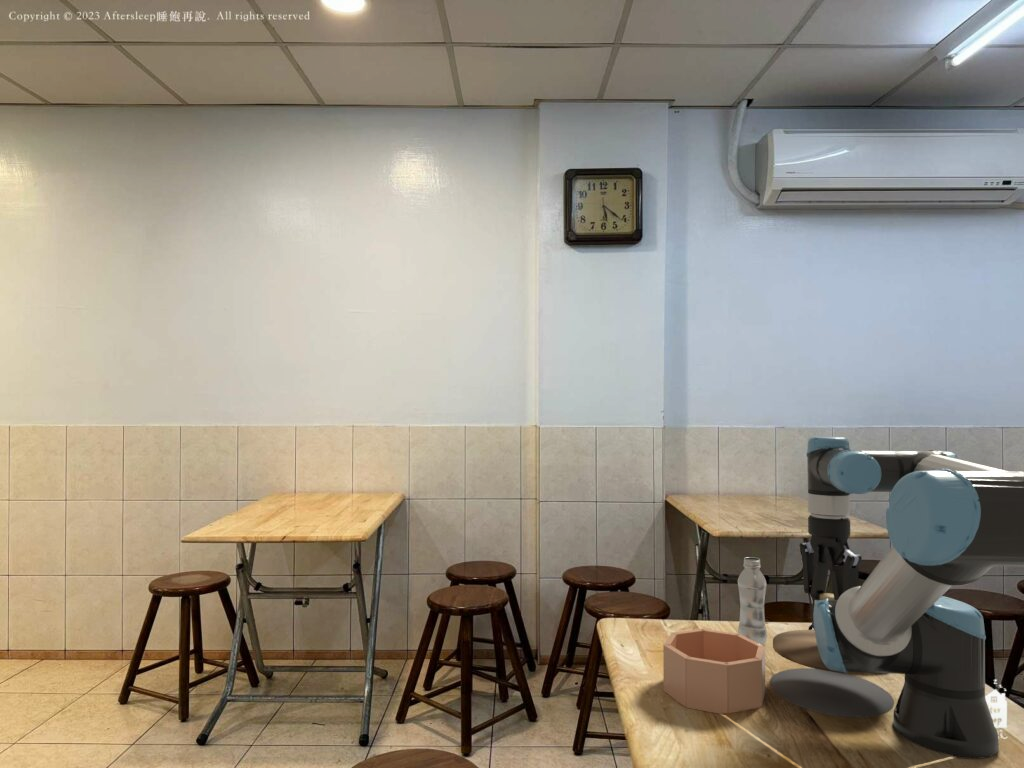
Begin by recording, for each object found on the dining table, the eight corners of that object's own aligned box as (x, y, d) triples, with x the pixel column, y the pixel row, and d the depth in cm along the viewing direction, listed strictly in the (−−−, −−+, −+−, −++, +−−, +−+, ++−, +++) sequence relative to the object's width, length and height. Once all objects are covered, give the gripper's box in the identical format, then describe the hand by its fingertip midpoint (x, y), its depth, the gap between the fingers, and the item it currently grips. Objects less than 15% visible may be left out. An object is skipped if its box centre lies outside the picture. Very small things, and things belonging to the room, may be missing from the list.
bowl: (784, 704, 129) (784, 656, 129) (703, 720, 122) (703, 669, 123) (723, 668, 146) (723, 625, 146) (648, 680, 139) (648, 635, 140)
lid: (918, 665, 127) (917, 605, 128) (830, 680, 120) (829, 616, 120) (830, 630, 147) (829, 578, 147) (750, 641, 140) (749, 586, 140)
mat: (922, 708, 127) (921, 705, 127) (829, 727, 120) (829, 725, 120) (829, 664, 148) (829, 662, 148) (745, 678, 140) (745, 676, 140)
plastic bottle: (769, 643, 161) (769, 557, 161) (764, 652, 155) (763, 563, 155) (741, 638, 164) (740, 554, 164) (734, 647, 158) (734, 560, 158)
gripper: (879, 521, 128) (881, 648, 127) (811, 508, 143) (812, 621, 143) (848, 523, 125) (849, 653, 124) (783, 510, 141) (784, 625, 140)
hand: (830, 636), depth 134 cm, fingers closed on lid, 4 cm apart
